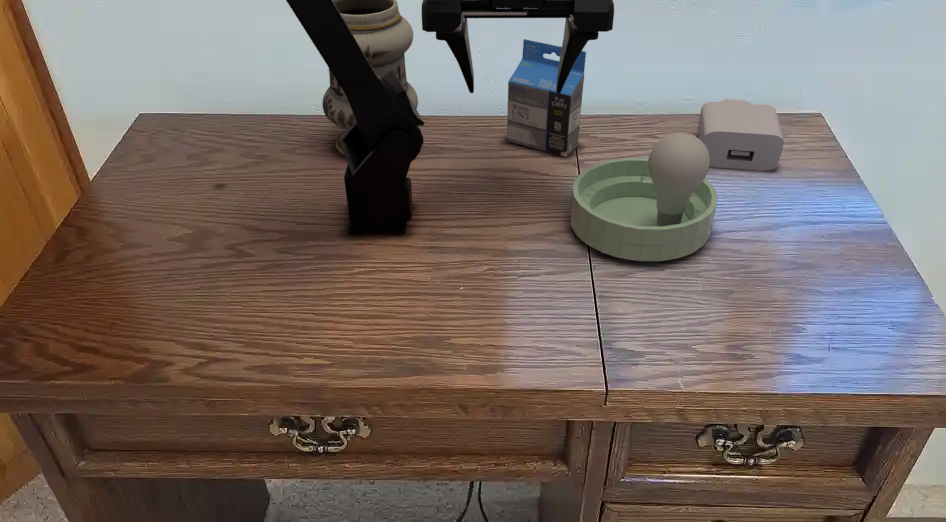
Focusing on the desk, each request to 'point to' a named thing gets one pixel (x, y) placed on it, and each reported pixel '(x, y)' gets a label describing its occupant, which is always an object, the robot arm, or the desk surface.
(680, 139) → the lightbulb
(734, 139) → the charger
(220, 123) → the desk surface
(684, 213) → the bowl
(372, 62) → the apothecary jar
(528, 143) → the blue grey carton
